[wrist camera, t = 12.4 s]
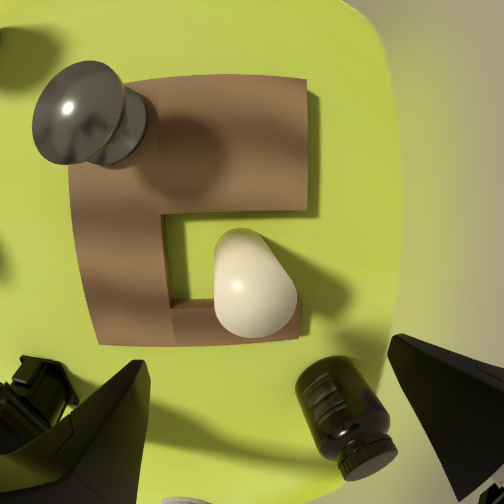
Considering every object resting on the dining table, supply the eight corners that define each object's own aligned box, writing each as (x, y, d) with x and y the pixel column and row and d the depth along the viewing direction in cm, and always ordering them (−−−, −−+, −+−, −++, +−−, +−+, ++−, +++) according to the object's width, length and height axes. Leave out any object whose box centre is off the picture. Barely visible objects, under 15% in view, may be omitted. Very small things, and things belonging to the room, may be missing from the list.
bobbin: (147, 160, 16) (119, 156, 11) (75, 169, 15) (31, 172, 10) (149, 82, 15) (126, 50, 9) (78, 96, 14) (38, 76, 9)
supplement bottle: (297, 407, 26) (329, 495, 15) (289, 366, 24) (330, 469, 13) (353, 388, 27) (400, 465, 15) (354, 345, 25) (417, 429, 13)
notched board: (293, 329, 23) (298, 338, 22) (104, 335, 21) (99, 344, 19) (300, 85, 17) (306, 79, 16) (79, 99, 15) (71, 95, 14)
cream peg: (266, 277, 21) (294, 334, 14) (215, 280, 21) (217, 340, 13) (267, 226, 20) (299, 261, 13) (212, 228, 20) (211, 266, 12)
